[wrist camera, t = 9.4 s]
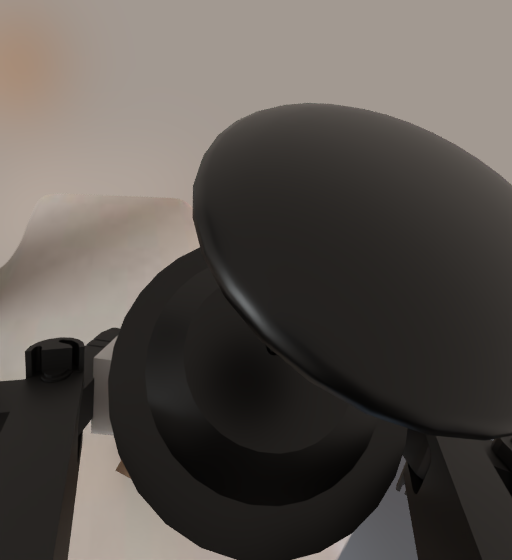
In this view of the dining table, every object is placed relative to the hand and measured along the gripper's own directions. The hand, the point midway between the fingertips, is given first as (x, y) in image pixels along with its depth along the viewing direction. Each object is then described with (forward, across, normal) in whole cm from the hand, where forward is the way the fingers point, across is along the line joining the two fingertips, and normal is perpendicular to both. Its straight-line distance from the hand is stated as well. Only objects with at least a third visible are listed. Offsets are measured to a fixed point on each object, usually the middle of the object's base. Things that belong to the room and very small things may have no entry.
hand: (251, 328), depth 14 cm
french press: (+5, 0, -10) cm, 11 cm away
